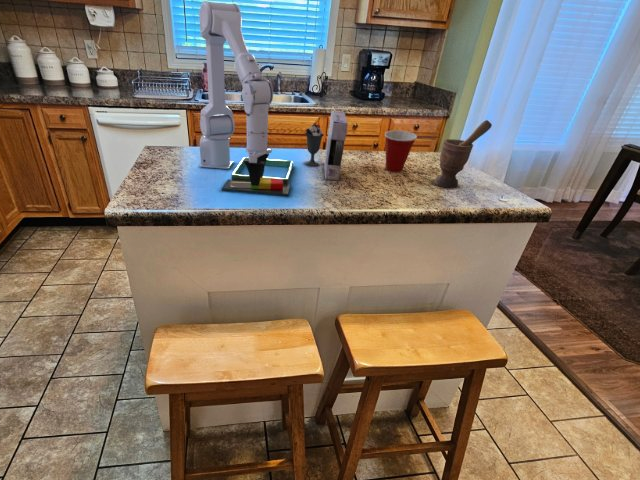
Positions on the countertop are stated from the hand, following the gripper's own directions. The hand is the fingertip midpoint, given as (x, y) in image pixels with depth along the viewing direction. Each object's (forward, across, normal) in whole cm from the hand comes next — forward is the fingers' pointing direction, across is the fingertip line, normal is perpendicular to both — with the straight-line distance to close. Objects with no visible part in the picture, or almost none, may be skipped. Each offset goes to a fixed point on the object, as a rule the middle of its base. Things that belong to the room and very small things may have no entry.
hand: (257, 181), depth 111 cm
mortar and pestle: (+2, +19, -61) cm, 64 cm away
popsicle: (+2, 0, 0) cm, 2 cm away
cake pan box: (+2, +22, -22) cm, 31 cm away
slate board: (+2, 0, 0) cm, 2 cm away
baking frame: (+2, +15, 0) cm, 15 cm away
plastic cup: (+2, +31, -44) cm, 54 cm away
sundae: (+2, +30, -15) cm, 34 cm away
